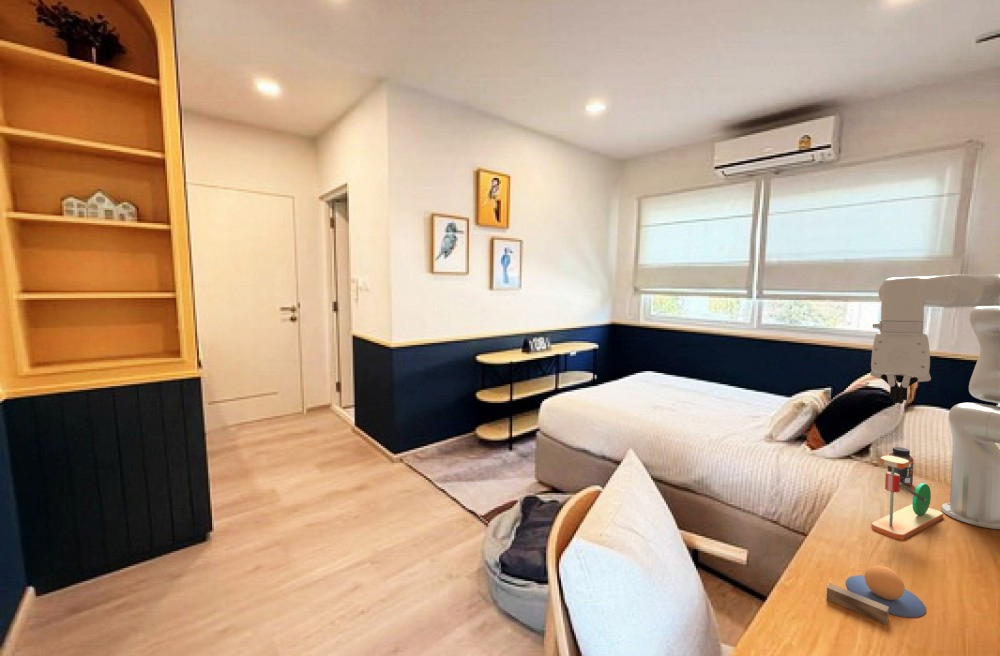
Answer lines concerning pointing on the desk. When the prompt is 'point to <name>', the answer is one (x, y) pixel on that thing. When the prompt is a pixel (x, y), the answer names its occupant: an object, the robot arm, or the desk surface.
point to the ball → (884, 582)
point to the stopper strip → (858, 603)
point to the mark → (901, 607)
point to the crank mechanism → (911, 515)
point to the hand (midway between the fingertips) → (898, 402)
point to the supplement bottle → (904, 473)
